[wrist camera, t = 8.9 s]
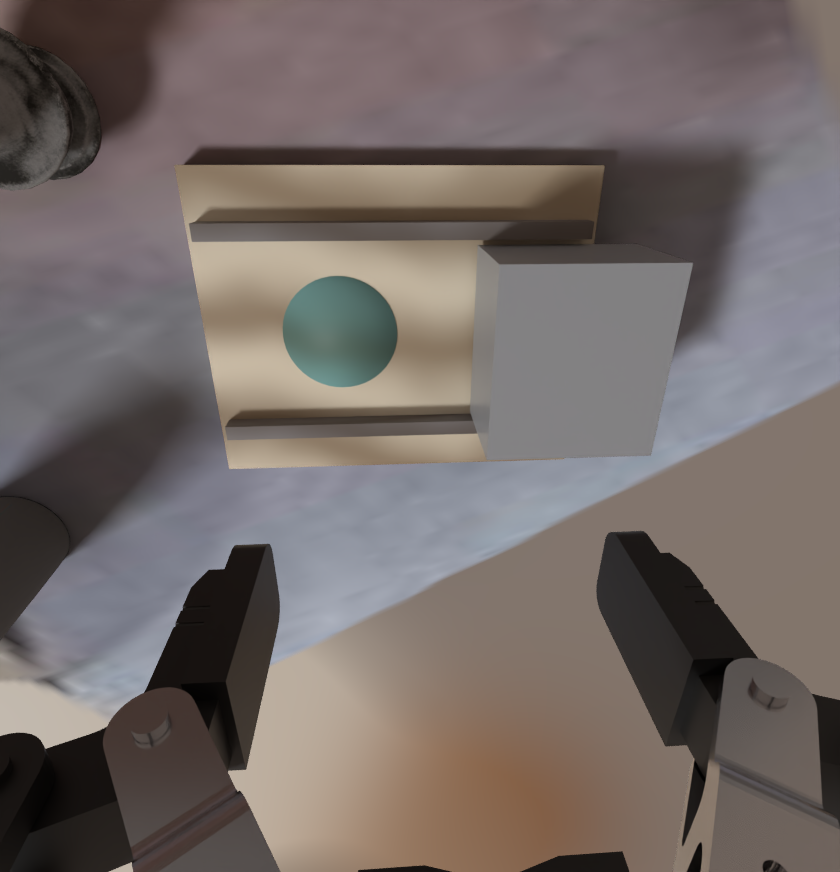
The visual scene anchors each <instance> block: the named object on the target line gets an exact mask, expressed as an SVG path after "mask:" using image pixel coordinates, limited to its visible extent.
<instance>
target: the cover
mask: <svg viewBox="0 0 840 872" xmlns="http://www.w3.org/2000/svg"><path fill="white" fill-rule="evenodd" d="M692 266H693V262H690V261H687V260H684V259H681V258H678V257H675V256H672V255H669V254H666V253H663V252H660V251H657V250H654V249H651V248H648V247H645V246H642V245H639V244H529V245H478V250H477V272H476V293H475V314H474V335H473V357H472V378H471V399H470V413H471V416H472V419H473V422H474V425H475V428H476V431H477V434H478V437H479V439H480V442H481V445H482V448H483V451H484V454H485V457H486V460H515V459H549V458H583V457H617V456H651V452H652V448H653V443H654V439H655V434H656V430H657V425H658V421H659V416H660V412H661V407H662V403H663V398H664V393H665V389H666V384H667V380H668V375H669V371H670V366H671V362H672V357H673V353H674V348H675V344H676V339H677V334H678V330H679V325H680V321H681V316H682V312H683V307H684V303H685V298H686V294H687V289H688V285H689V280H690V275H691V271H692Z"/></svg>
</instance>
